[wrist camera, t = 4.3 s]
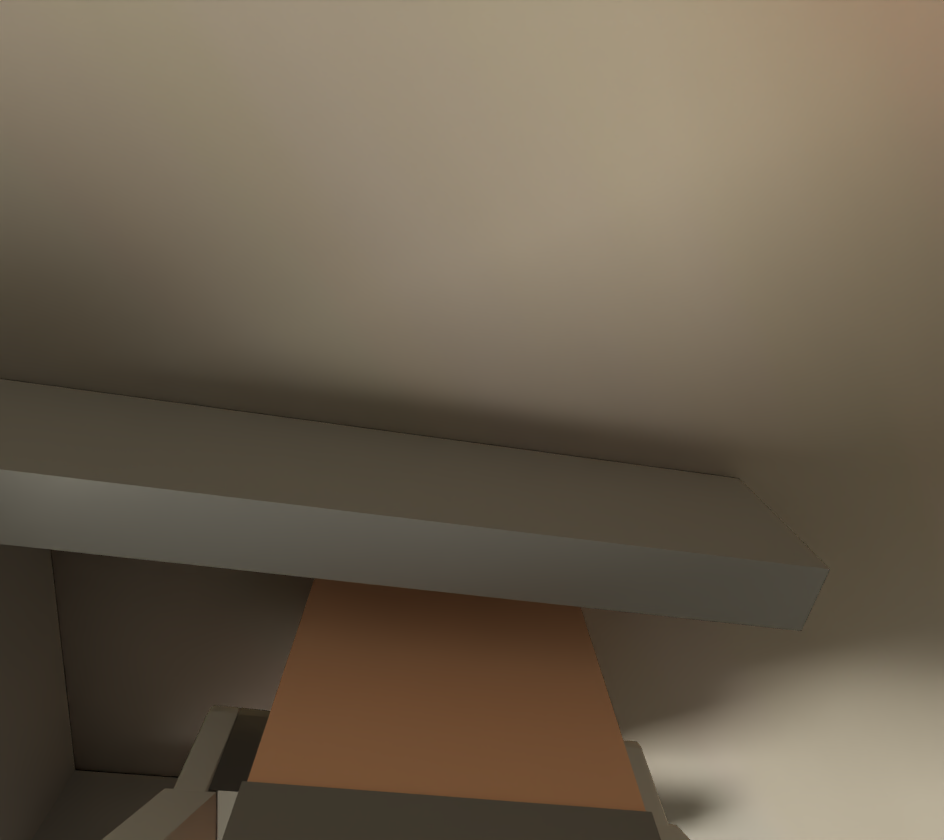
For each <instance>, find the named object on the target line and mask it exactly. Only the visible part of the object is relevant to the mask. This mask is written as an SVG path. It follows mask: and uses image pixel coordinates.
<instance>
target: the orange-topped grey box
mask: <svg viewBox="0 0 944 840" xmlns="http://www.w3.org/2000/svg"><path fill="white" fill-rule="evenodd" d="M222 840H661V838H660V835H659V832H658V829H657V826H656V823H655V820H654V817H653V814H652V812H647V811H646V810H645V807H644V804H643V800H642V797H641V794H640V791H639V788H638V785H637V782H636V779H635V775H634V772H633V769H632V766H631V763H630V760H629V757H628V754H627V751H626V747H625V744H624V741H623V738H622V735H621V732H620V729H619V726H618V722H617V719H616V716H615V713H614V710H613V707H612V704H611V701H610V698H609V694H608V691H607V688H606V685H605V682H604V679H603V676H602V673H601V669H600V666H599V663H598V660H597V657H596V654H595V651H594V648H593V645H592V641H591V638H590V635H589V632H588V629H587V626H586V623H585V620H584V616H583V613H582V610H581V607H576V606H567V605H557V604H548V603H539V602H530V601H521V600H511V599H502V598H493V597H484V596H474V595H465V594H456V593H447V592H438V591H428V590H419V589H410V588H401V587H391V586H382V585H373V584H364V583H355V582H345V581H336V580H327V579H318V578H314V581H313V584H312V587H311V590H310V593H309V596H308V600H307V603H306V606H305V609H304V612H303V615H302V618H301V621H300V624H299V627H298V630H297V633H296V636H295V639H294V642H293V645H292V648H291V651H290V654H289V657H288V660H287V663H286V666H285V669H284V672H283V675H282V678H281V681H280V684H279V687H278V690H277V693H276V696H275V699H274V702H273V705H272V708H271V711H270V714H269V717H268V720H267V723H266V726H265V729H264V732H263V735H262V738H261V741H260V744H259V747H258V750H257V753H256V756H255V759H254V762H253V765H252V768H251V771H250V774H249V777H248V780H247V781H242V782H241V785H240V788H239V791H238V794H237V797H236V800H235V803H234V806H233V809H232V812H231V815H230V818H229V821H228V824H227V827H226V829H225V832H224V835H223V838H222Z"/></svg>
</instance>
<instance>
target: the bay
mask: <svg viewBox="0 0 944 840" xmlns="http://www.w3.org/2000/svg"><path fill="white" fill-rule="evenodd" d="M50 550H60V551H69V552H78V553H87V554H96V555H106V556H115V557H124V558H133V559H143V560H152V561H161V562H170V563H179V564H189V565H198V566H207V567H216V568H226V569H235V570H244V571H253V572H262V573H272V574H281V575H290V576H299V577H309V578H318V579H327V580H336V581H345V582H355V583H364V584H373V585H382V586H391V587H401V588H410V589H419V590H428V591H438V592H447V593H456V594H465V595H474V596H484V597H493V598H502V599H511V600H521V601H530V602H539V603H548V604H557V605H567V606H576V607H585V608H594V609H604V610H613V611H622V612H631V613H640V614H650V615H659V616H668V617H677V618H687V619H696V620H705V621H714V622H723V623H733V624H742V625H751V626H760V627H770V628H779V629H788V630H797V631H802V628H803V626H804V624H805V622H806V620H807V618H808V615H809V613H810V611H811V609H812V607H813V605H814V602H815V600H816V598H817V596H818V594H819V592H820V590H821V587H822V585H823V583H824V581H825V579H826V577H827V574H828V572H829V570H830V569H829V568H828V567H827V566H826V565H825V564H824V563H823V562H822V561H821V560H820V559H819V558H818V557H817V556H816V555H815V554H814V553H813V552H812V551H811V550H810V549H809V548H808V547H807V546H806V545H805V544H804V543H803V542H802V541H801V540H800V539H799V538H798V537H797V536H796V535H795V534H794V533H793V532H792V531H791V530H790V529H789V528H788V527H787V526H786V525H785V524H784V523H783V522H782V521H781V520H780V519H779V518H778V517H777V516H776V515H775V514H774V513H773V512H772V511H771V510H770V509H769V508H768V507H767V506H766V505H765V504H764V503H763V502H762V501H761V500H760V499H759V498H758V497H757V496H756V495H755V494H754V493H753V492H752V491H751V490H750V489H749V488H748V487H747V486H746V485H745V484H744V483H743V482H742V481H741V480H740V479H739V478H731V477H724V476H716V475H709V474H702V473H694V472H687V471H679V470H672V469H664V468H657V467H650V466H642V465H635V464H627V463H620V462H613V461H605V460H598V459H590V458H583V457H575V456H568V455H561V454H553V453H546V452H538V451H531V450H524V449H516V448H509V447H501V446H494V445H486V444H479V443H472V442H464V441H457V440H449V439H442V438H434V437H427V436H420V435H412V434H405V433H397V432H390V431H383V430H375V429H368V428H360V427H353V426H345V425H338V424H331V423H323V422H316V421H308V420H301V419H294V418H286V417H279V416H271V415H264V414H256V413H249V412H242V411H234V410H227V409H219V408H212V407H205V406H197V405H190V404H182V403H175V402H167V401H160V400H153V399H145V398H138V397H130V396H123V395H116V394H108V393H101V392H93V391H86V390H78V389H71V388H64V387H56V386H49V385H41V384H34V383H27V382H19V381H12V380H4V379H0V840H102V839H103V838H104V837H106V836H107V835H108V834H109V833H110V832H112V831H113V830H114V829H115V828H117V827H118V826H119V825H120V824H122V823H123V822H124V821H125V820H126V819H128V818H129V817H130V816H131V815H133V814H134V813H135V812H136V811H138V810H139V809H140V808H141V807H142V806H144V805H145V804H146V803H147V802H149V801H150V800H151V799H152V798H153V797H155V796H156V795H157V794H158V793H160V792H161V791H162V790H163V789H165V788H167V789H174V786H175V784H176V782H177V780H178V778H172V777H159V776H145V775H131V774H118V773H104V772H90V771H77V770H75V763H74V755H73V746H72V737H71V728H70V719H69V710H68V701H67V693H66V684H65V675H64V666H63V657H62V648H61V639H60V631H59V622H58V613H57V604H56V595H55V586H54V577H53V569H52V560H51V551H50Z"/></svg>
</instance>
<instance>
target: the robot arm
mask: <svg viewBox="0 0 944 840" xmlns="http://www.w3.org/2000/svg"><path fill="white" fill-rule="evenodd" d="M269 714H270V711H267V710H258V709H249V708H238V707H228V706H218V705H213V707H212V708H211V709H210V711H209V712H208V713H207V715H206V718H205V720H204V722H203V724H202V727H201V729H200V731H199V733H198V735H197V738H196V740H195V742H194V744H193V746H192V749H191V751H190V753H189V755H188V758H187V760H186V762H185V764H184V766H183V769H182V771H181V773H180V775H179V777H178V780H177V782H176V784H175V786H174V789H167V788H165V789H163V790H162V791H161V792H160V793H158V794H157V795H156V796H155V797H153V798H152V799H151V800H150V801H149V802H147V803H146V804H145V805H144V806H142V807H141V808H140V809H139V810H138V811H136V812H135V813H134V814H133V815H131V816H130V817H129V818H128V819H126V820H125V821H124V822H123V823H122V824H120V825H119V826H118V827H117V828H115V829H114V830H113V831H112V832H110V833H109V834H108V835H107V836H106V837H104V838H103V839H102V840H222V838H223V835H224V832H225V829H226V827H227V824H228V821H229V818H230V815H231V812H232V809H233V806H234V803H235V800H236V797H237V794H238V791H239V788H240V785H241V782H242V781H247V780H248V777H249V774H250V771H251V768H252V765H253V762H254V759H255V756H256V753H257V750H258V747H259V744H260V741H261V738H262V735H263V732H264V729H265V726H266V723H267V720H268V717H269ZM623 741H624V740H623ZM624 744H625V747H626V751H627V754H628V757H629V760H630V763H631V766H632V769H633V772H634V775H635V779H636V782H637V785H638V788H639V791H640V794H641V797H642V800H643V804H644V807H645V810H646V811H647V812H652V814H653V817H654V820H655V823H656V826H657V829H658V832H659V835H660V838H661V840H690V839H689V838H688V837H687V836H686V835H685V834H684V833H683V831H682V830H681V829H680V828H679V827H678V826H677V825H673V824H668V821H667V818H666V815H665V812H664V810H663V807H662V804H661V801H660V798H659V796H658V793H657V790H656V787H655V784H654V782H653V779H652V776H651V773H650V770H649V768H648V765H647V762H646V759H645V756H644V754H643V751H642V748H641V746H640V745H639V744H638V742H636V741H624Z"/></svg>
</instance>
